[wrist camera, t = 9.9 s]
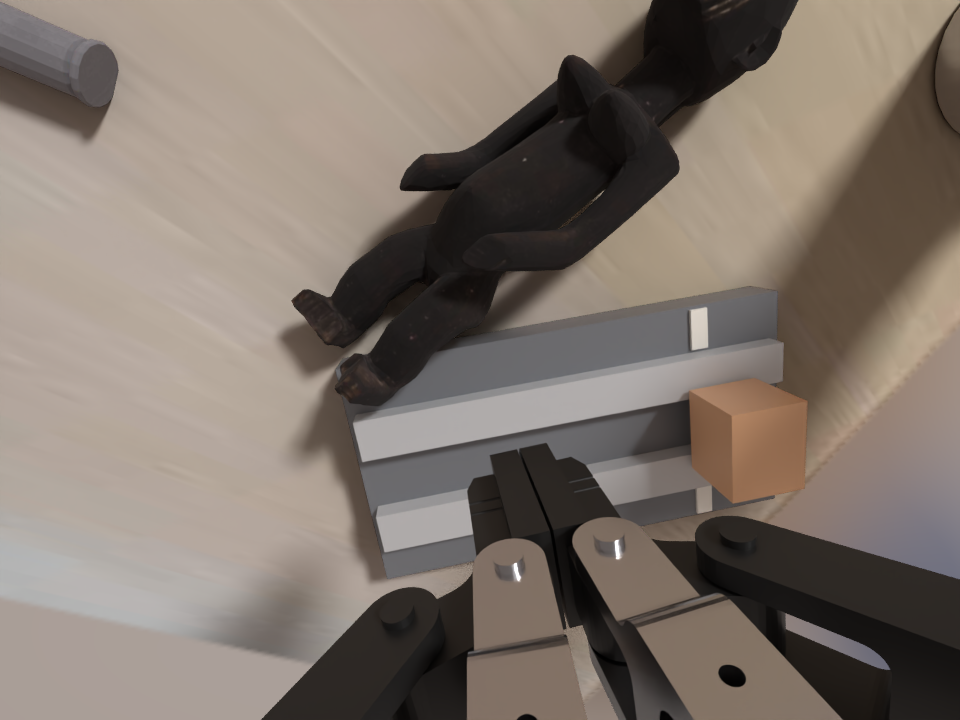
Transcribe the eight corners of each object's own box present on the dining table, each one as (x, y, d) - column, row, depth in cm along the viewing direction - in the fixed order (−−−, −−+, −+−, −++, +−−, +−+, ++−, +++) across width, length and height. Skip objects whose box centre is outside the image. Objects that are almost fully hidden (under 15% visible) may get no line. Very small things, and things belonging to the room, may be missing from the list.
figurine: (295, 280, 28) (241, 301, 20) (724, -74, 25) (859, -211, 17) (387, 382, 30) (372, 438, 22) (790, 66, 28) (937, 1, 20)
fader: (741, 371, 29) (807, 401, 24) (741, 446, 30) (804, 488, 25) (678, 384, 29) (731, 415, 24) (681, 458, 30) (732, 503, 25)
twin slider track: (750, 286, 31) (792, 293, 27) (750, 479, 34) (787, 508, 31) (342, 358, 29) (331, 376, 25) (390, 553, 33) (386, 592, 29)
